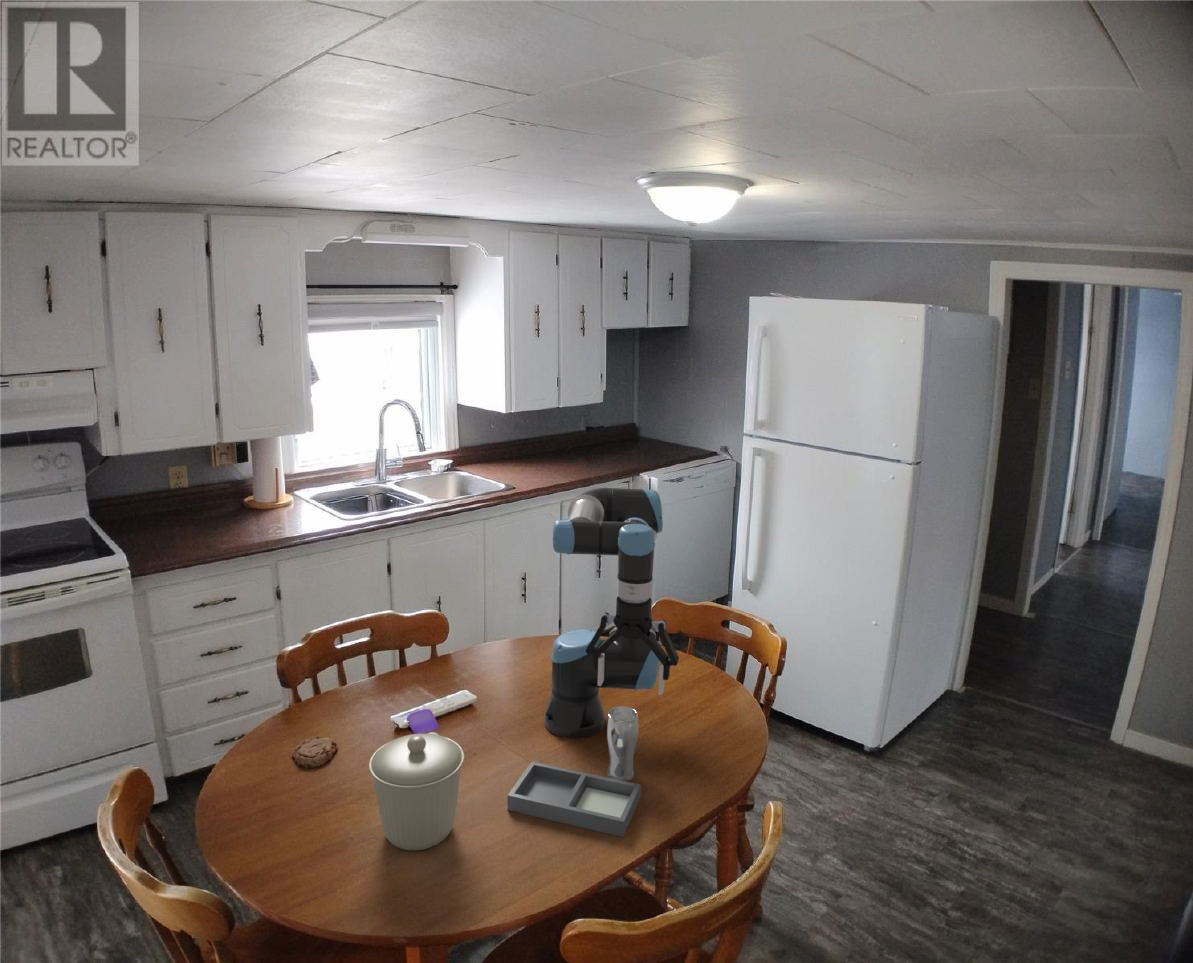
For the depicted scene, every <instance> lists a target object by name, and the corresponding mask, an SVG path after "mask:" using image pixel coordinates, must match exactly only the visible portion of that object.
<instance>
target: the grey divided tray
mask: <svg viewBox="0 0 1193 963" xmlns="http://www.w3.org/2000/svg"><path fill="white" fill-rule="evenodd" d="M640 800H641V784H639V783H633V782H630V781H621V780H616V779H611V778H610V777H608V776H607V777H606V776H603V775H602V776H601V775H597V774H592V773H588V772H582V771H577V770H574V769H568V768H564V767H560V766H554V765H550V764H544V763H541V762H535V761H531V762H530V763H529V764H528V766H527V768H525V770H524V771H523V773H522V774H521V776H520V777H519V779H518V780H517V782H516V783H515V784H514V786H513V787H512V788H511V790H510V791H509V793H508V794H507V811H511V812H514V813H518V814H522V815H527V816H531V817H535V818H540V819H544V820H548V821H552V822H557V823H561V824H565V825H569V826H574V827H578V828H583V829H587V830H592V831H594V832H595V831H596V832H599V833H603V834H609V835H611V836H616V837H621V838H624V837H625V834H626V831H627V830H628V827H629V825H630V823H631V820H632V818H633V817H634V816H633V815H634V813H635V812H636V809H637V807H638V805H639V802H640Z"/></svg>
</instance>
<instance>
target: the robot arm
mask: <svg viewBox="0 0 1193 963" xmlns="http://www.w3.org/2000/svg"><path fill="white" fill-rule="evenodd" d="M567 517H568V519H567V518H566V519H557V520H555V522H554V524H553V529H552V530H553V531H552V549H553V551H554V552H555V553H557V554H565V555H592V556H593V555H594V556H596V555H597V556H598V555H599V556H615V557H617V577H616V581H617V582H616V607H615V608H616V609H615V610H616V611H615V615H611V614H610V613H608V612H604V613H603V615H601V619H600V625H599V627H598V629H597V630H596V631H595V630H592V629H584V628H583V629H574V630H568V631H567V632H564V633H562V634H560V635H559V636H557V638H556V639H555V640H554V642H553V643H552V644H553V645H552V652H551V653H552V654H551V661H552V662H551V663H552V664H551V666H552V668H551V695H550V697H549V699H548V703H547V705H546V708H545V711H544V714H543V716H544V721H543V723H544V726H545V728H546V729H547V730H548V732H550V733H551V734H553V735H556V736H558V737H561V738H562V737H563V738H566V739H582V738H588V737H591V736H594V735H596V734H598V733H599V732H601V731H602V730H603V729H604V726H605V720H606V713H605V710H604V707H603V705H602V701H601V699H600V694H599V691H600V690H599V689H600V688H602V689H616V690H617V689H619V690H621V689H622V690H635V691H638V690H652V689H653V688H655V686H656V685H657V678H659V679H658V692H657V693H658V696H663V693H664V691H665V681H668V680H669V678H670V675H671V673H670V672H671V667H672V666H675V667H676V666H677V665H678V663H679V660H680V657H679V655H678V653H677V650H676V648H675V646H674V643H673V642H672V639H671V637H670V634H669V632H668V630H667V622H666V620H665V619H663V618H662V619H661V620H655V621H654V620H653V619H652V606H653V604H652V602H653V600H652V598H651V597H652V596H653V583H654V582H653V581H654V580H653V576H654V575H653V574H654V573H653V571H654V559H655V556H654V555H655V546H656V542H655V541H656V540H657V539H658V538H657V537H658V534H661V533H662V531H663V527H664V524H663V522H664V521H663V507H662V502H661V496H660V494H659V493H658V491H656V489H655V490H654V489H647V488H646V489H645V488H643V487H641V488H620V487H598V488H592V489H589V490H587V491H585V492H582V493H580V494H579V495H577V496H576V497H574V498H573V499H572V501H571V502H570V504H569V506H568V510H567ZM611 623H613V625H614V626H615V627H614V628H613V629H612V630H610V631H609V635H608V637H607V638H605V639H603V638H602V639H601V636H602V635H603V632H605V629H606V627H607V626H610V625H611ZM652 628H654V630H655V631H656V632H657V633H658V635H659V638H660V639H659V640H660V641H659V640H657V634H656V632H655V631H654V630H652ZM662 645H663V647H664V649H665V650H664V649H663V647H662ZM658 672H659V673H658Z"/></svg>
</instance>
